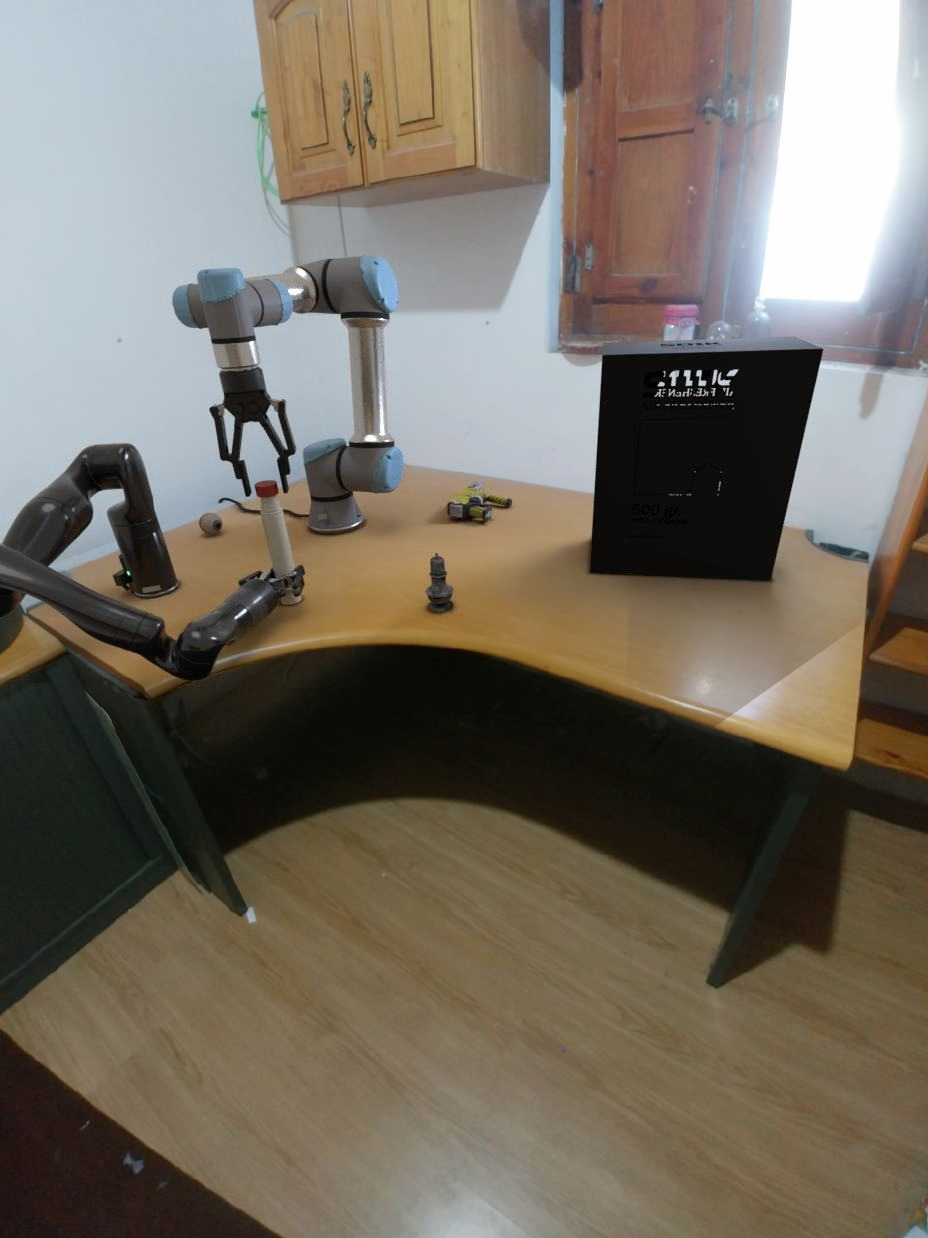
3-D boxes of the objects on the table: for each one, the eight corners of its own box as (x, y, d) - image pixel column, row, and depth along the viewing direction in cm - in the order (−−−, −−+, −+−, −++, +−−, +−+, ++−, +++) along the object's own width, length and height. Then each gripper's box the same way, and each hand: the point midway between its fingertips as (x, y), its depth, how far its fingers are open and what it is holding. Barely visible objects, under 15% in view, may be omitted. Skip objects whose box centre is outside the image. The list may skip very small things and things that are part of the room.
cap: (252, 496, 118) (249, 485, 117) (266, 489, 122) (264, 479, 121) (268, 498, 117) (266, 487, 116) (283, 491, 120) (281, 481, 119)
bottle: (287, 594, 134) (262, 481, 121) (305, 596, 132) (281, 482, 120) (276, 604, 130) (249, 488, 117) (295, 605, 129) (269, 489, 116)
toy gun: (520, 486, 181) (473, 479, 185) (498, 510, 161) (445, 501, 165) (519, 501, 183) (472, 494, 187) (496, 526, 163) (445, 518, 167)
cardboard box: (751, 542, 144) (793, 336, 122) (770, 580, 127) (823, 348, 105) (591, 537, 152) (603, 342, 130) (589, 572, 135) (602, 354, 112)
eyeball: (212, 539, 164) (206, 518, 161) (197, 535, 167) (191, 515, 164) (230, 531, 169) (224, 511, 166) (215, 528, 172) (210, 508, 169)
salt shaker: (451, 613, 122) (447, 559, 116) (423, 611, 123) (418, 558, 117) (457, 599, 127) (454, 547, 121) (430, 598, 128) (425, 546, 122)
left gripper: (221, 619, 120) (266, 581, 134) (286, 625, 116) (324, 585, 131) (211, 585, 116) (258, 550, 130) (278, 591, 113) (318, 553, 127)
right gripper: (297, 361, 112) (318, 482, 123) (188, 369, 110) (220, 491, 121) (293, 366, 105) (316, 494, 117) (177, 374, 103) (212, 503, 115)
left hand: (291, 568), depth 130 cm, fingers closed on bottle, 4 cm apart
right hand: (267, 492), depth 119 cm, fingers open, 7 cm apart
